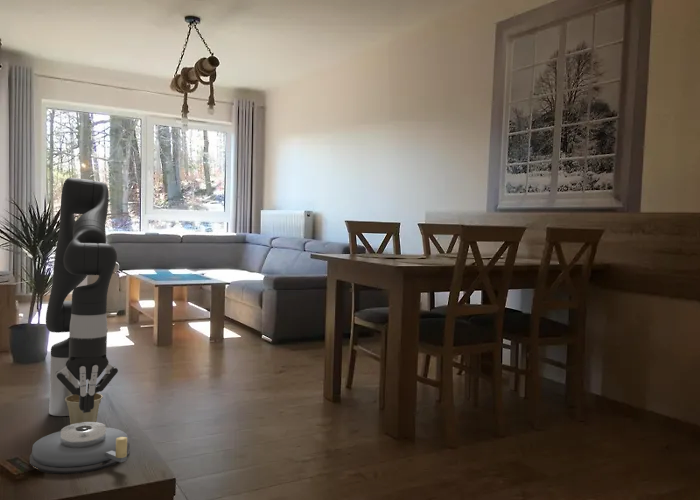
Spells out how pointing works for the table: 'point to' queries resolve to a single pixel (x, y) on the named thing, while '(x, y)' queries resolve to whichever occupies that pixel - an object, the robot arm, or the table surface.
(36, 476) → the table surface
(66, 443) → the cover
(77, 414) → the flower pot
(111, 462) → the turntable base
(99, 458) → the turntable
